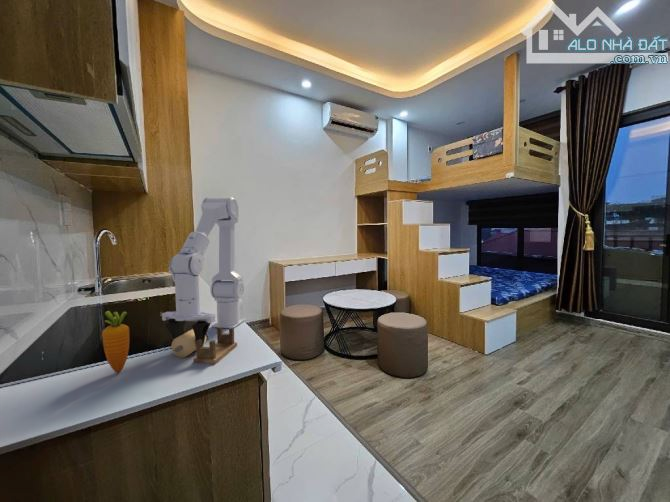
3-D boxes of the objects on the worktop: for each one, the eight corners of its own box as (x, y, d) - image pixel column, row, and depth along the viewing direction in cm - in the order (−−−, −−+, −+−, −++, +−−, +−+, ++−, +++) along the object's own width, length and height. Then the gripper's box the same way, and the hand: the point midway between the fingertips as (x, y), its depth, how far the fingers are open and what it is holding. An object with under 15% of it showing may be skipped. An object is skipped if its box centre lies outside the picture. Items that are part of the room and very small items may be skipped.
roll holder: (193, 362, 71) (192, 341, 71) (218, 344, 82) (217, 326, 82) (215, 364, 70) (214, 342, 70) (237, 345, 81) (236, 327, 81)
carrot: (136, 368, 68) (133, 307, 67) (119, 379, 63) (115, 313, 62) (118, 367, 69) (114, 307, 68) (99, 377, 64) (94, 313, 63)
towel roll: (167, 359, 73) (166, 338, 73) (192, 343, 83) (191, 325, 82) (186, 360, 72) (186, 340, 72) (209, 344, 82) (209, 326, 82)
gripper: (152, 300, 73) (154, 350, 75) (203, 303, 71) (205, 354, 72) (171, 294, 80) (173, 340, 82) (218, 296, 78) (220, 343, 79)
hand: (189, 346), depth 77 cm, fingers closed on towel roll, 5 cm apart
